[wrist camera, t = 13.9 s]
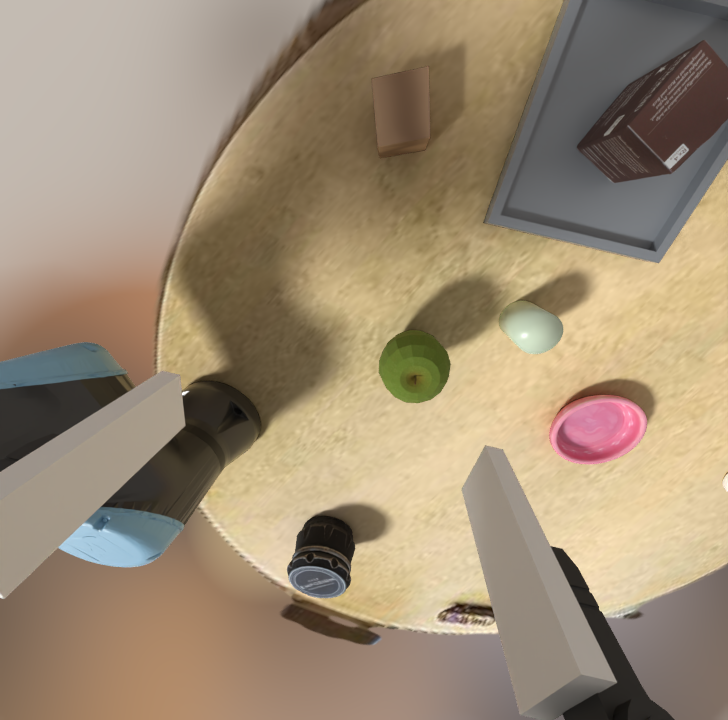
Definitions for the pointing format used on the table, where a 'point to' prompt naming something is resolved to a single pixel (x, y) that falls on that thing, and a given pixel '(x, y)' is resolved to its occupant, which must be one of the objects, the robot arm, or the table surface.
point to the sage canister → (530, 327)
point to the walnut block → (402, 112)
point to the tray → (583, 109)
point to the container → (322, 558)
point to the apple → (414, 366)
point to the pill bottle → (725, 482)
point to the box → (661, 117)
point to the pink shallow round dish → (597, 429)
